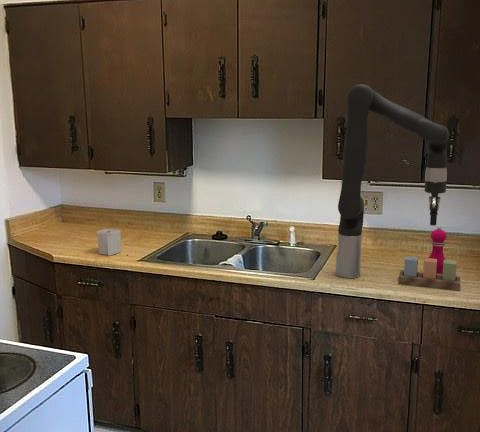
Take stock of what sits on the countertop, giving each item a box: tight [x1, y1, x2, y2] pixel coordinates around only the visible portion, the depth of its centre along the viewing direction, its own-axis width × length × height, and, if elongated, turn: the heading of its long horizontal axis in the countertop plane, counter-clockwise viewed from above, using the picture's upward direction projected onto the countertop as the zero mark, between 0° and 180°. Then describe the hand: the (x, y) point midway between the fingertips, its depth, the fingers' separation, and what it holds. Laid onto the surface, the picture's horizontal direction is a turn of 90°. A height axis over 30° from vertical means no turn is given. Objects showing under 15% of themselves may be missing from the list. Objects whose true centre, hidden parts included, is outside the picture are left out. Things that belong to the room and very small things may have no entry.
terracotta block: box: [422, 257, 437, 279], centre depth 208 cm, size 5×5×7 cm
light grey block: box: [96, 228, 122, 257], centre depth 255 cm, size 11×12×10 cm
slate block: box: [403, 256, 419, 277], centre depth 211 cm, size 5×5×7 cm
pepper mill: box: [428, 225, 447, 274], centre depth 219 cm, size 7×7×20 cm
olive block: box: [442, 259, 458, 281], centre depth 206 cm, size 5×5×7 cm
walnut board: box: [397, 269, 461, 292], centre depth 209 cm, size 22×9×3 cm, turn 68°
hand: (433, 225), depth 205 cm, fingers closed
